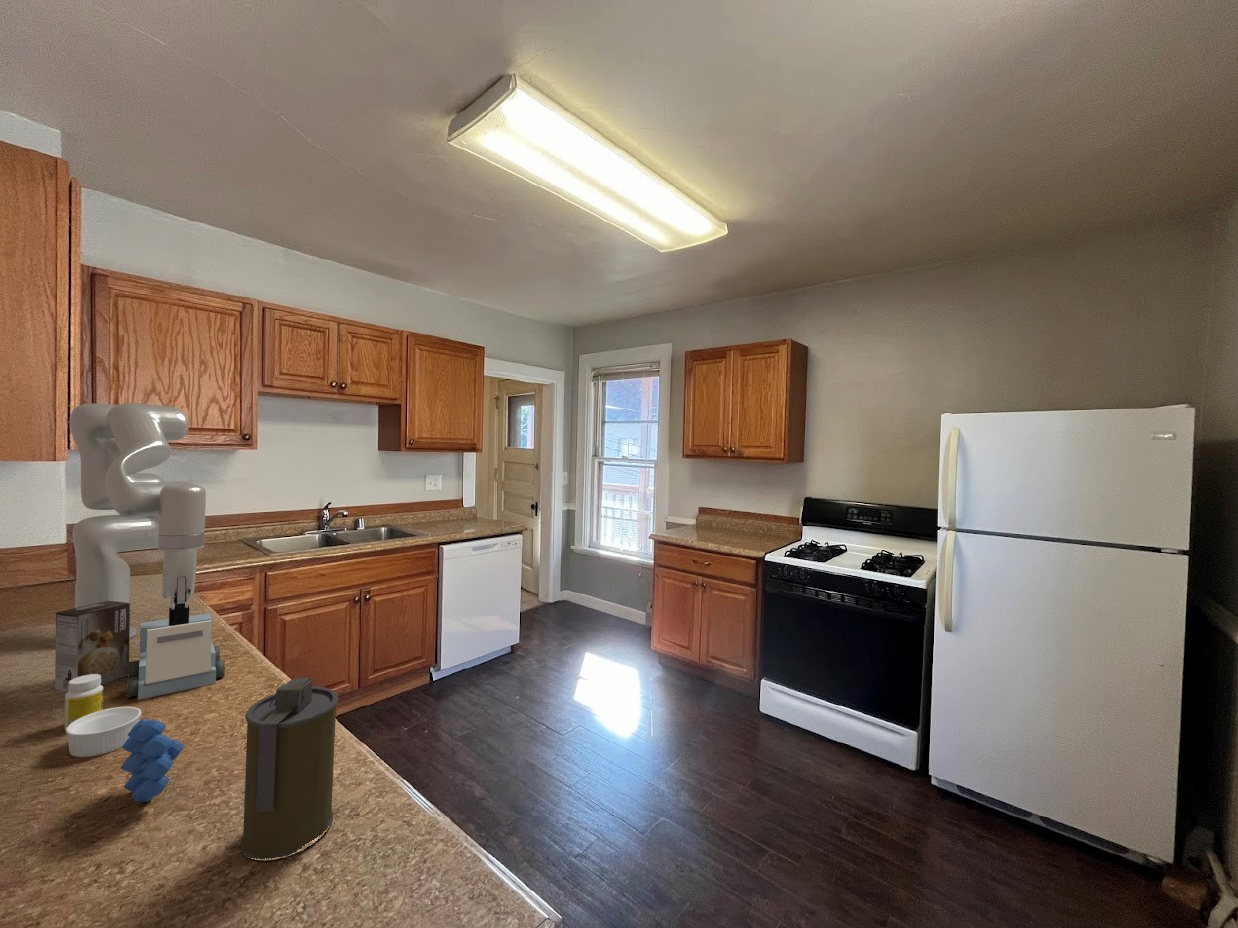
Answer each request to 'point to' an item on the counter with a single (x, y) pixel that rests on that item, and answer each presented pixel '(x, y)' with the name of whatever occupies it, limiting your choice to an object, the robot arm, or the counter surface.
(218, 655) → the pale blue toy cart
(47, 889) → the counter surface
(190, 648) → the panel
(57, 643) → the coffee box
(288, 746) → the canister
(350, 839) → the counter surface
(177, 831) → the counter surface
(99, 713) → the ramekin
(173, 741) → the grapes
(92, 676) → the supplement bottle
